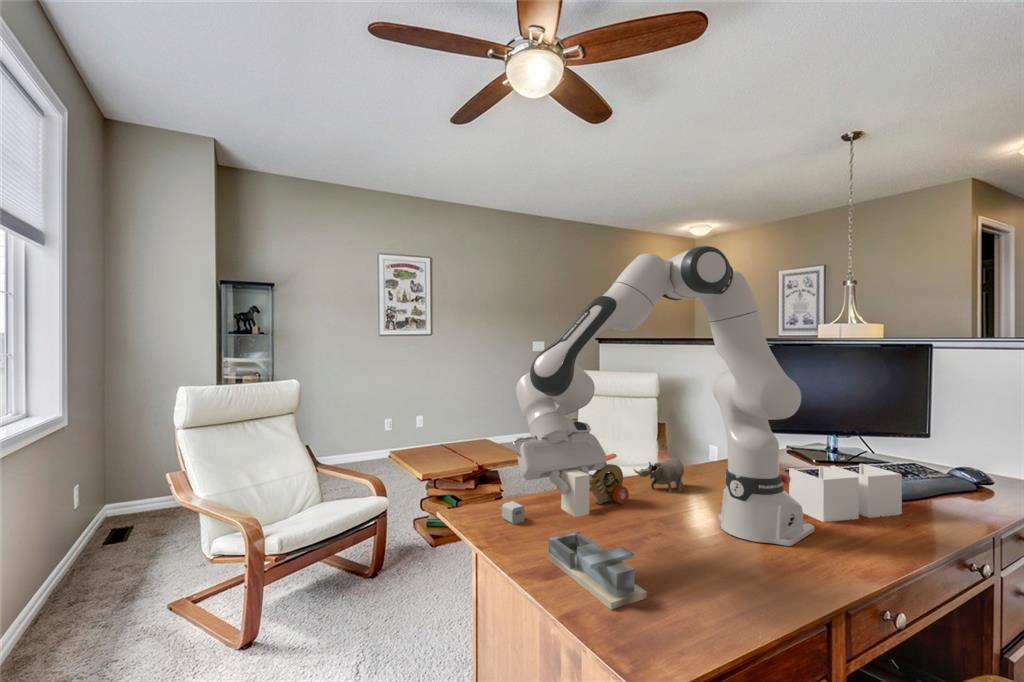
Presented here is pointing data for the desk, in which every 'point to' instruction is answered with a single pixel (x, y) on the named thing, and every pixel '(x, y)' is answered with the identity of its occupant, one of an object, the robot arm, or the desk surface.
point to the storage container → (847, 493)
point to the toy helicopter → (608, 484)
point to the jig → (596, 569)
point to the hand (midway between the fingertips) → (576, 491)
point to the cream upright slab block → (576, 492)
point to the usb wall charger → (513, 512)
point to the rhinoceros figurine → (664, 473)
